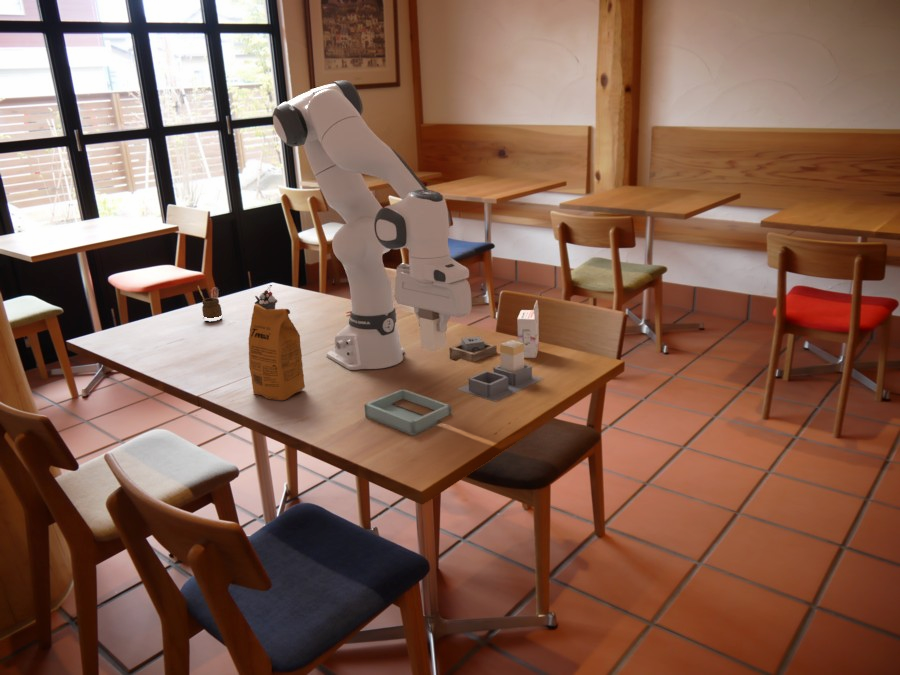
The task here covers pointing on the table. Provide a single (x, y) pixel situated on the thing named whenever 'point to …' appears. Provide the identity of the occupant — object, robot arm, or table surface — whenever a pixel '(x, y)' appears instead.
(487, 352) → the dice corral
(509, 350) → the block
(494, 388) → the block
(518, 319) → the ink cartridge box
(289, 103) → the robot arm
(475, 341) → the dice cube
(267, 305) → the sundae
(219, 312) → the utensil holder
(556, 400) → the table surface
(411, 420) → the tray
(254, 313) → the coffee package
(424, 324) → the block
